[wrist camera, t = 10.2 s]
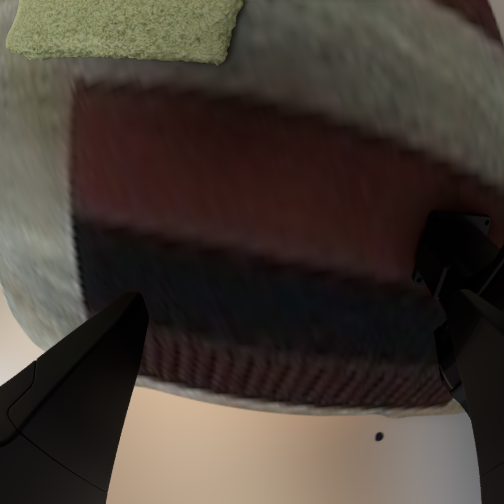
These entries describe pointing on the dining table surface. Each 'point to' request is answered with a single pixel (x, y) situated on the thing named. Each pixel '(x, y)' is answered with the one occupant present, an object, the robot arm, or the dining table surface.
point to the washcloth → (125, 29)
